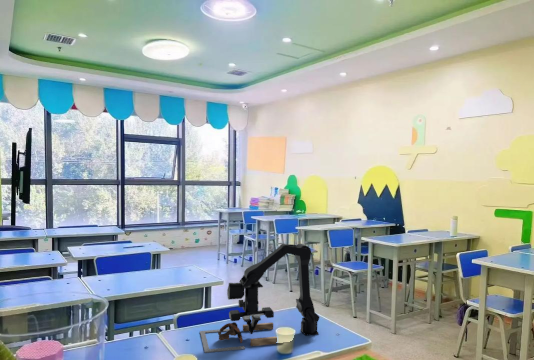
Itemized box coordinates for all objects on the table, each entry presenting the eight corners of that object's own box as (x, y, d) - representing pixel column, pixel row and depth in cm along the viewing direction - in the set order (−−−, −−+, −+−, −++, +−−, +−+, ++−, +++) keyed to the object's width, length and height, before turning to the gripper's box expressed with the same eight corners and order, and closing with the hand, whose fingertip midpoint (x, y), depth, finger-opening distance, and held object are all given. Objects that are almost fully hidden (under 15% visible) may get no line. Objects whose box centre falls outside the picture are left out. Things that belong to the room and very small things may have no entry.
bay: (235, 329, 170) (235, 328, 170) (244, 349, 150) (244, 348, 150) (199, 331, 166) (199, 331, 166) (204, 352, 145) (204, 351, 145)
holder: (272, 327, 173) (272, 322, 173) (283, 343, 156) (283, 337, 156) (242, 330, 169) (242, 324, 169) (251, 346, 152) (251, 340, 152)
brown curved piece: (242, 347, 152) (233, 331, 151) (222, 355, 154) (213, 339, 153) (246, 329, 164) (238, 313, 162) (228, 336, 166) (219, 321, 164)
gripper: (267, 290, 172) (267, 324, 171) (227, 293, 167) (226, 328, 166) (274, 298, 161) (274, 334, 161) (231, 301, 156) (231, 338, 156)
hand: (251, 333), depth 161 cm, fingers closed
